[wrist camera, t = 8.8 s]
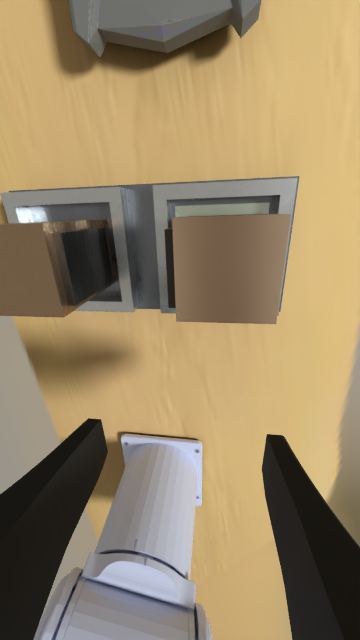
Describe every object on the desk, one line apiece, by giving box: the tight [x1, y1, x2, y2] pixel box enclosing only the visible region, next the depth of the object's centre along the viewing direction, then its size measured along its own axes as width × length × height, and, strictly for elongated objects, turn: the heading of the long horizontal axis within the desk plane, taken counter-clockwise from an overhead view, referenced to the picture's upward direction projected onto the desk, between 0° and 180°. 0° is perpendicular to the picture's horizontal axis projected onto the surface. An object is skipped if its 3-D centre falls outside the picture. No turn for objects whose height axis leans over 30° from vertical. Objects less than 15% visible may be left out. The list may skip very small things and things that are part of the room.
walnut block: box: [164, 214, 291, 324], centre depth 12 cm, size 4×4×6 cm
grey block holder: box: [0, 176, 299, 317], centre depth 13 cm, size 8×17×8 cm, turn 92°
